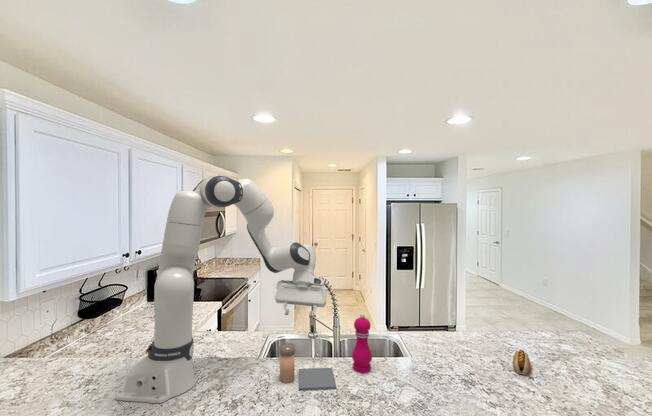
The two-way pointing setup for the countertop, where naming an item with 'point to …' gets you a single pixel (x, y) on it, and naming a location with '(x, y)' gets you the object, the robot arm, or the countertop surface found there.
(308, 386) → the pad
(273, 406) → the countertop surface
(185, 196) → the robot arm
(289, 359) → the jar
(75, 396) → the countertop surface
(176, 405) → the countertop surface
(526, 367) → the food
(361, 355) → the pepper mill
